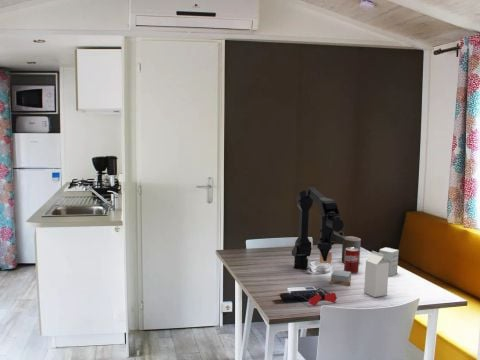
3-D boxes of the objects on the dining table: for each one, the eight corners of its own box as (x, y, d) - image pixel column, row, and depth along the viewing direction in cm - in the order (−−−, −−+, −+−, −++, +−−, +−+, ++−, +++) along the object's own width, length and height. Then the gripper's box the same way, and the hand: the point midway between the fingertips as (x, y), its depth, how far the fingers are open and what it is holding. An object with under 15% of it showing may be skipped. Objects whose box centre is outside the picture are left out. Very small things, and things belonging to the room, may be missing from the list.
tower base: (330, 285, 236) (330, 280, 236) (332, 279, 245) (332, 274, 245) (350, 287, 234) (350, 281, 234) (350, 281, 243) (350, 276, 242)
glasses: (309, 308, 207) (309, 296, 206) (290, 294, 222) (290, 284, 221) (337, 303, 212) (338, 292, 211) (317, 291, 227) (317, 280, 226)
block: (319, 262, 233) (319, 254, 232) (320, 259, 238) (321, 251, 237) (330, 263, 232) (330, 255, 231) (331, 260, 236) (331, 252, 236)
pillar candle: (339, 264, 269) (341, 236, 267) (343, 259, 278) (344, 233, 276) (358, 266, 266) (359, 239, 264) (360, 261, 275) (362, 235, 273)
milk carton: (374, 297, 219) (377, 255, 217) (363, 292, 225) (366, 251, 223) (387, 295, 222) (389, 253, 220) (375, 290, 228) (378, 249, 226)
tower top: (331, 279, 237) (331, 274, 236) (334, 274, 244) (334, 269, 244) (348, 281, 234) (348, 276, 233) (350, 276, 241) (350, 271, 241)
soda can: (358, 274, 251) (359, 251, 250) (343, 273, 253) (344, 250, 251) (358, 270, 258) (359, 247, 257) (343, 269, 260) (344, 246, 258)
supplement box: (377, 273, 254) (378, 249, 252) (384, 270, 259) (385, 246, 257) (390, 276, 249) (392, 252, 247) (397, 273, 254) (399, 249, 252)
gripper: (343, 232, 222) (341, 266, 223) (346, 224, 239) (344, 255, 241) (317, 230, 225) (316, 264, 227) (322, 222, 242) (321, 253, 244)
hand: (325, 259), depth 235 cm, fingers closed on block, 5 cm apart
